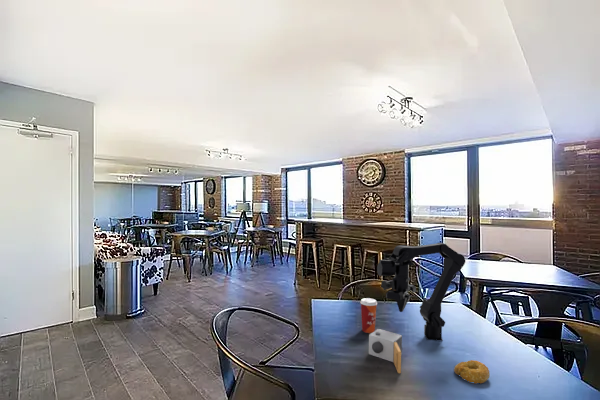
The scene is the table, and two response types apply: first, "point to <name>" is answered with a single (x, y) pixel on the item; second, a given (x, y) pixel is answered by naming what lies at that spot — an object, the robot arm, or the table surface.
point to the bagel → (472, 371)
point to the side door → (397, 357)
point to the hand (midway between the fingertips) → (401, 311)
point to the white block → (384, 344)
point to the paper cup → (368, 314)
